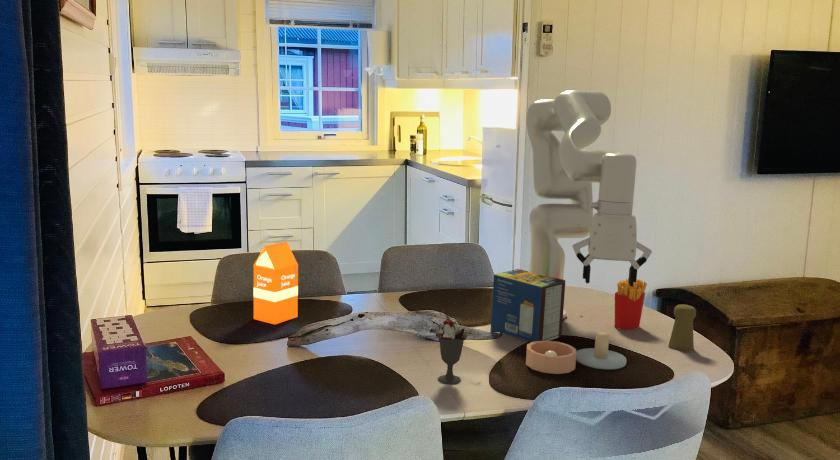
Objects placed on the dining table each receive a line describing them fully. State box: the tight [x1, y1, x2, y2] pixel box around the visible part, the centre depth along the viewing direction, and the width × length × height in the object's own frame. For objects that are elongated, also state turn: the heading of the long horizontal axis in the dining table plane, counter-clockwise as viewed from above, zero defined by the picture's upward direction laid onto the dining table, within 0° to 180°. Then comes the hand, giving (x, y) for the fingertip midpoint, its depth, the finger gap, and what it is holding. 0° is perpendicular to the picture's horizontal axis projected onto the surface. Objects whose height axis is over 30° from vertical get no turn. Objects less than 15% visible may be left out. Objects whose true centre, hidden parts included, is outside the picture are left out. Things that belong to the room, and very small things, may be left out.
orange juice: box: [252, 241, 299, 325], centre depth 189 cm, size 8×9×20 cm
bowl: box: [525, 340, 577, 375], centre depth 162 cm, size 11×11×4 cm
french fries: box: [614, 278, 647, 331], centre depth 194 cm, size 9×4×13 cm, turn 115°
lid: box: [576, 331, 628, 370], centre depth 166 cm, size 12×12×6 cm
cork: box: [668, 304, 697, 353], centre depth 179 cm, size 6×6×11 cm
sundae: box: [435, 310, 468, 385], centre depth 152 cm, size 7×7×15 cm
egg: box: [544, 350, 558, 356], centre depth 162 cm, size 3×3×3 cm
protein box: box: [490, 268, 566, 343], centre depth 183 cm, size 10×15×16 cm
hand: (608, 283), depth 163 cm, fingers open, 9 cm apart
